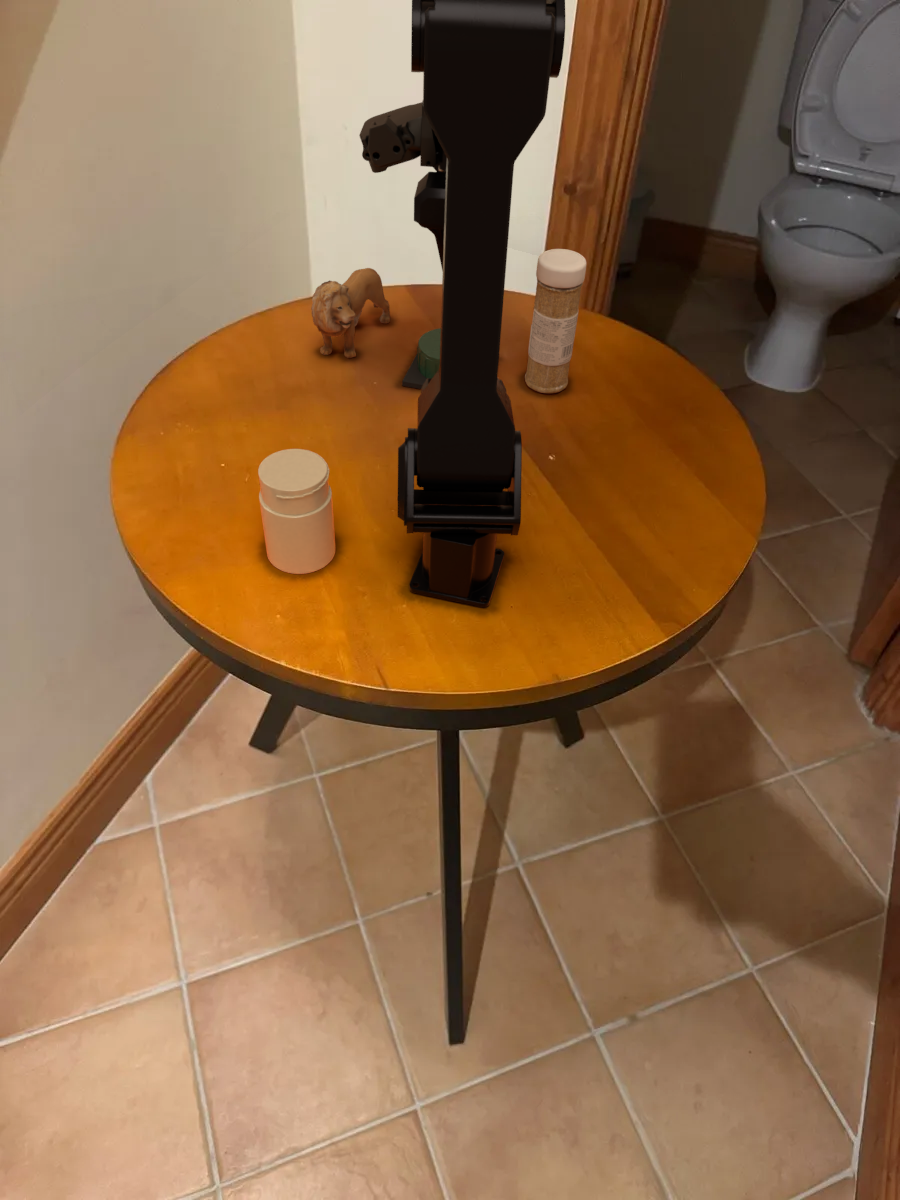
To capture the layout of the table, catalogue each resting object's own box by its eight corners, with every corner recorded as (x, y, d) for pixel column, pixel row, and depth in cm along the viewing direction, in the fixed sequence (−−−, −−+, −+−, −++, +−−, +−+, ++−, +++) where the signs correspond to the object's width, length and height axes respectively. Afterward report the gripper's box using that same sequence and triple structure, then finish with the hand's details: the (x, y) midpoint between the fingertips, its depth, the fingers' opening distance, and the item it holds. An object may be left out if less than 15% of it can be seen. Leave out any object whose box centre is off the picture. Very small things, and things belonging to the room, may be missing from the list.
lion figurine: (353, 379, 92) (349, 297, 86) (304, 370, 93) (297, 288, 87) (397, 312, 102) (397, 234, 96) (353, 304, 103) (350, 226, 97)
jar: (322, 580, 72) (315, 498, 66) (256, 566, 73) (243, 484, 67) (344, 535, 76) (340, 454, 70) (282, 522, 77) (272, 441, 71)
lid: (410, 377, 92) (410, 354, 90) (427, 346, 96) (427, 323, 94) (471, 389, 91) (473, 365, 89) (486, 356, 95) (488, 333, 94)
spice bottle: (546, 367, 96) (563, 242, 86) (576, 386, 93) (597, 260, 84) (514, 380, 94) (528, 254, 84) (544, 400, 91) (562, 273, 81)
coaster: (478, 399, 91) (478, 394, 90) (401, 386, 92) (401, 381, 92) (495, 359, 96) (495, 354, 96) (422, 346, 97) (422, 341, 97)
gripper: (380, 39, 81) (382, 214, 92) (348, 109, 68) (355, 302, 79) (504, 48, 81) (491, 222, 92) (496, 120, 68) (482, 312, 79)
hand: (454, 261), depth 86 cm, fingers open, 9 cm apart
